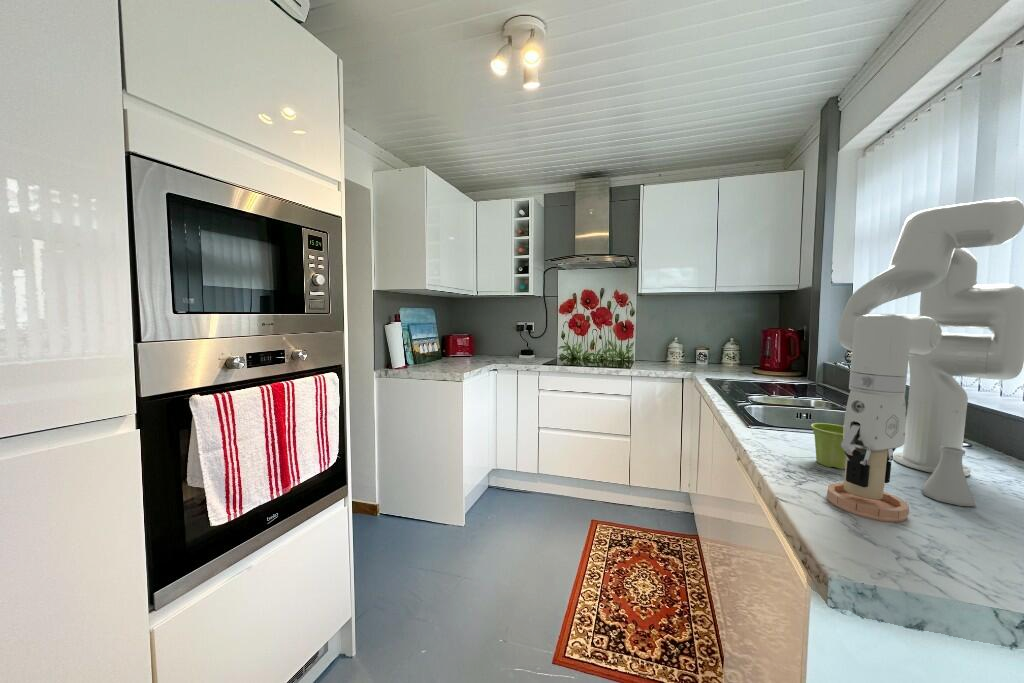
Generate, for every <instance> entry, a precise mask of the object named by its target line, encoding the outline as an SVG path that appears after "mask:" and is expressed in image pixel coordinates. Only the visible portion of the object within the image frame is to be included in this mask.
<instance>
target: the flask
mask: <svg viewBox="0 0 1024 683" xmlns="http://www.w3.org/2000/svg"><path fill="white" fill-rule="evenodd" d="M940 448H941V450H942V456H941V459H940V461H939V464H938V466H937V467H936V469H935V470H934V472H933V473H931V475H930V476H929V477H928V479H927V480H926V481H925V483H924V484H923V486H922V487H921V488H920V491H921V493H922V494H923V495H924V496H926V497H928V498H931V499H933V500H936V501H937V502H941V503H944V504H945V503H946V504H949V505H956V506H960V507H977V504H976V501H975V499H974V496H973V494H972V492H971V489H970V486H969V482H968V481H967V478H966V477H967V476H965V474H964V472H963V465H964V464H963V457H964V456H963V454H965V455H966V450H964V449H963V448H962V449H959V448H956V447H949V446H940Z"/></svg>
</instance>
